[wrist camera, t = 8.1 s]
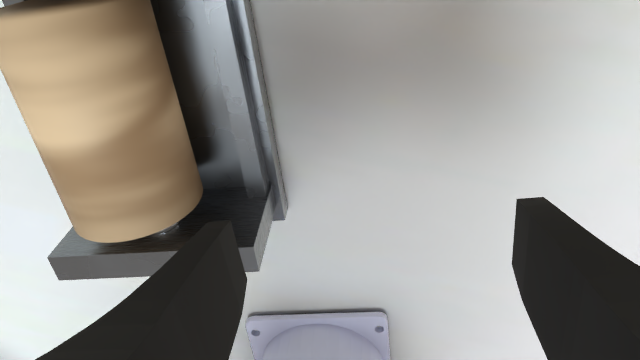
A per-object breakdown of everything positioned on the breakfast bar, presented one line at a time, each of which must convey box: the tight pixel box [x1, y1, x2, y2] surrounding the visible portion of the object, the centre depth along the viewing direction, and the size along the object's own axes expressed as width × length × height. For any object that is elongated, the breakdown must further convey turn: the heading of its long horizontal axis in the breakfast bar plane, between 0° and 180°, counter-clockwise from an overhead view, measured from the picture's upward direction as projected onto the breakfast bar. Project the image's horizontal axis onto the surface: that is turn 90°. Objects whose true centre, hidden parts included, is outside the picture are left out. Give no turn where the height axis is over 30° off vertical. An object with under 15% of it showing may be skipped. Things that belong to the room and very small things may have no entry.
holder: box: [2, 0, 287, 280], centre depth 19 cm, size 14×9×6 cm, turn 7°
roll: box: [0, 0, 203, 243], centre depth 18 cm, size 8×5×5 cm, turn 7°
